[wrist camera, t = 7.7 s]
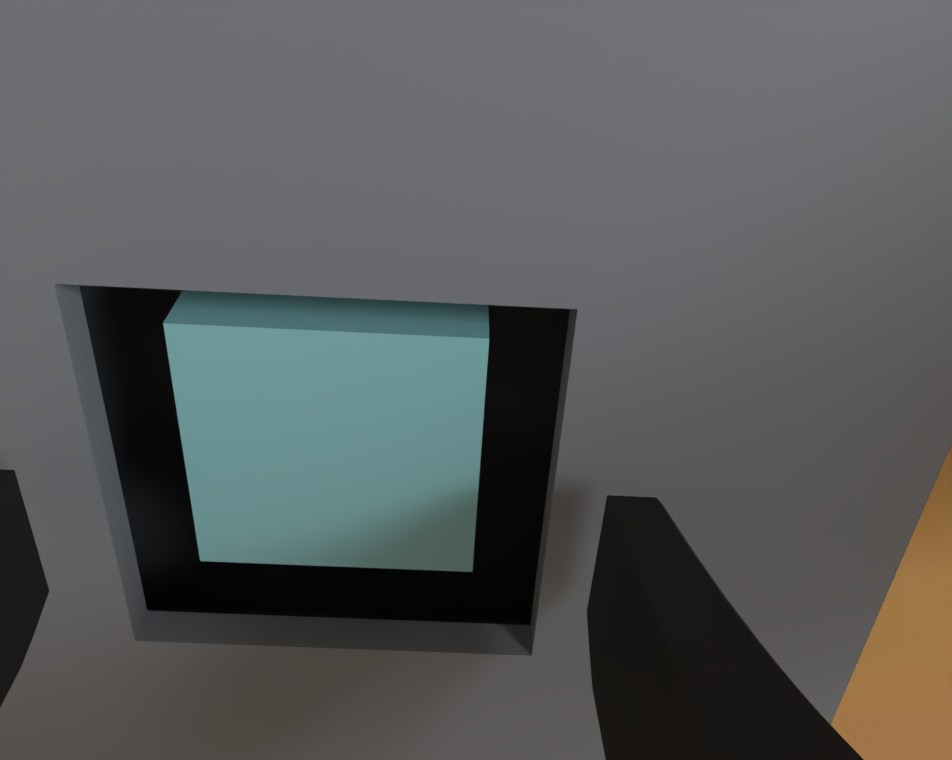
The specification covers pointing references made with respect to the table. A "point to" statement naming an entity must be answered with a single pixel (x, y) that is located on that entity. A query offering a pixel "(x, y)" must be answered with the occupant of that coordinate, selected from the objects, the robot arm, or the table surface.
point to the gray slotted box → (510, 340)
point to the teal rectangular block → (330, 427)
